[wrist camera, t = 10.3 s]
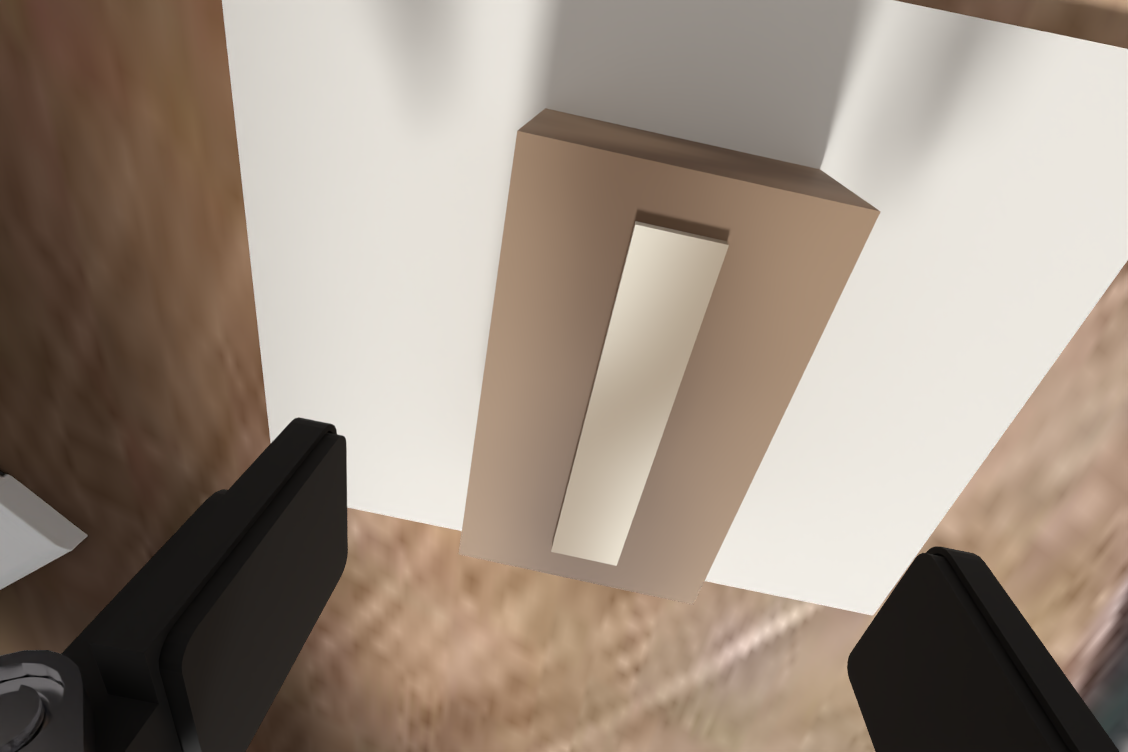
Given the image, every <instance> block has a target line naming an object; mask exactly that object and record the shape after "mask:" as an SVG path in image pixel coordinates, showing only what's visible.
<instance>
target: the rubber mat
mask: <svg viewBox="0 0 1128 752" xmlns="http://www.w3.org/2000/svg"><path fill="white" fill-rule="evenodd" d="M222 6H223V15H224V24H225V33H226V42H227V51H228V61H229V70H230V79H231V88H232V97H233V106H234V115H235V124H236V133H237V142H238V151H239V160H240V169H241V178H242V187H243V197H244V206H245V215H246V224H247V233H248V242H249V251H250V260H251V269H252V278H253V287H254V296H255V305H256V314H257V323H258V332H259V342H260V351H261V360H262V369H263V378H264V387H265V396H266V405H267V414H268V423H269V432H270V441H271V443H272V442H273V441H274V440H275V438H276V437H277V436H278V435H279V434H280V433H281V432H282V431H283V430H284V429H285V427H286V426H287V425H288V424H289V423H290V422H291V421H292V420H293V419H295V418H298V417H300V418H305V419H310V420H315V421H320V422H325V423H330V424H333V425H335V427H336V430H337V434H338V435H342V436H345V438H346V448H347V507H348V508H353V509H358V510H362V511H367V512H372V513H377V514H382V515H387V516H392V517H396V518H401V519H406V520H411V521H416V522H421V523H426V524H431V525H435V526H440V527H445V528H450V529H455V530H460V531H462V526H463V519H464V512H465V504H466V497H467V490H468V483H469V476H470V468H471V461H472V454H473V447H474V439H475V432H476V425H477V418H478V410H479V403H480V396H481V389H482V382H483V374H484V367H485V360H486V353H487V345H488V338H489V331H490V324H491V316H492V309H493V302H494V295H495V288H496V280H497V273H498V266H499V259H500V251H501V244H502V237H503V230H504V223H505V215H506V208H507V201H508V194H509V186H510V179H511V172H512V165H513V157H514V150H515V143H516V136H517V131H518V130H519V129H520V128H521V127H523V126H524V125H525V124H526V123H528V122H529V121H530V120H531V119H533V118H534V117H535V116H536V115H538V114H539V113H540V112H541V111H543V110H544V109H545V108H547V109H551V110H556V111H560V112H565V113H569V114H574V115H578V116H583V117H587V118H592V119H596V120H601V121H605V122H610V123H614V124H619V125H623V126H628V127H632V128H637V129H641V130H646V131H650V132H654V133H659V134H663V135H668V136H672V137H677V138H681V139H686V140H690V141H695V142H699V143H704V144H708V145H713V146H717V147H722V148H726V149H731V150H735V151H740V152H744V153H749V154H753V155H758V156H762V157H767V158H771V159H776V160H780V161H785V162H789V163H794V164H798V165H803V166H807V167H812V168H816V169H820V170H822V171H823V172H825V173H826V174H827V175H829V176H830V177H832V178H833V179H835V180H836V181H838V182H839V183H840V184H842V185H843V186H845V187H846V188H848V189H849V190H850V191H852V192H853V193H855V194H856V195H858V196H859V197H861V198H862V199H863V200H865V201H866V202H868V203H869V204H871V205H872V206H873V207H875V208H876V209H878V210H879V211H881V212H880V214H879V216H878V218H877V220H876V222H875V225H874V227H873V229H872V231H871V233H870V235H869V237H868V239H867V241H866V243H865V246H864V248H863V250H862V252H861V254H860V256H859V258H858V260H857V262H856V264H855V267H854V269H853V271H852V273H851V275H850V277H849V279H848V281H847V283H846V285H845V288H844V290H843V292H842V294H841V296H840V298H839V300H838V302H837V304H836V306H835V308H834V311H833V313H832V315H831V317H830V319H829V321H828V323H827V325H826V327H825V329H824V332H823V334H822V336H821V338H820V340H819V342H818V344H817V346H816V348H815V350H814V353H813V355H812V357H811V359H810V361H809V363H808V365H807V367H806V369H805V371H804V373H803V376H802V378H801V380H800V382H799V384H798V386H797V388H796V390H795V392H794V394H793V397H792V399H791V401H790V403H789V405H788V407H787V409H786V411H785V413H784V415H783V418H782V420H781V422H780V424H779V426H778V428H777V430H776V432H775V434H774V436H773V438H772V441H771V443H770V445H769V447H768V449H767V451H766V453H765V455H764V457H763V459H762V462H761V464H760V466H759V468H758V470H757V472H756V474H755V476H754V478H753V480H752V483H751V485H750V487H749V489H748V491H747V493H746V495H745V497H744V499H743V501H742V503H741V506H740V508H739V510H738V512H737V514H736V516H735V518H734V520H733V522H732V524H731V527H730V529H729V531H728V533H727V535H726V537H725V539H724V541H723V543H722V545H721V548H720V550H719V552H718V554H717V556H716V558H715V560H714V562H713V564H712V566H711V568H710V571H709V573H708V575H707V577H706V579H705V581H708V582H713V583H717V584H722V585H727V586H732V587H737V588H742V589H747V590H751V591H756V592H761V593H766V594H771V595H776V596H781V597H785V598H790V599H795V600H800V601H805V602H810V603H815V604H819V605H824V606H829V607H834V608H839V609H844V610H849V611H854V612H858V613H863V614H868V615H874V613H875V612H876V611H877V609H878V608H879V607H880V605H881V604H882V602H883V601H884V600H885V598H886V597H887V595H888V594H889V593H890V591H891V590H892V588H893V587H894V586H895V584H896V583H897V581H898V580H899V579H900V577H901V576H902V574H903V573H904V572H905V570H906V569H907V567H908V566H909V565H910V563H911V562H912V560H913V559H914V558H915V556H916V555H917V553H918V552H919V551H920V549H921V548H922V546H923V545H924V544H925V542H926V541H927V539H928V538H929V537H930V535H931V534H932V533H933V531H934V530H935V528H936V527H937V526H938V524H939V523H940V521H941V520H942V519H943V517H944V516H945V514H946V513H947V512H948V510H949V509H950V507H951V506H952V505H953V503H954V502H955V500H956V499H957V498H958V496H959V495H960V493H961V492H962V491H963V489H964V488H965V486H966V485H967V484H968V482H969V481H970V479H971V478H972V477H973V475H974V474H975V472H976V471H977V470H978V468H979V467H980V465H981V464H982V463H983V461H984V460H985V459H986V457H987V456H988V454H989V453H990V452H991V450H992V449H993V447H994V446H995V445H996V443H997V442H998V440H999V439H1000V438H1001V436H1002V435H1003V433H1004V432H1005V431H1006V429H1007V428H1008V426H1009V425H1010V424H1011V422H1012V421H1013V419H1014V418H1015V417H1016V415H1017V414H1018V412H1019V411H1020V410H1021V408H1022V407H1023V405H1024V404H1025V403H1026V401H1027V400H1028V398H1029V397H1030V396H1031V394H1032V393H1033V391H1034V390H1035V389H1036V387H1037V386H1038V384H1039V383H1040V382H1041V380H1042V379H1043V378H1044V376H1045V375H1046V373H1047V372H1048V371H1049V369H1050V368H1051V366H1052V365H1053V364H1054V362H1055V361H1056V359H1057V358H1058V357H1059V355H1060V354H1061V352H1062V351H1063V350H1064V348H1065V347H1066V345H1067V344H1068V343H1069V341H1070V340H1071V338H1072V337H1073V336H1074V334H1075V333H1076V331H1077V330H1078V329H1079V327H1080V326H1081V324H1082V323H1083V322H1084V320H1085V319H1086V317H1087V316H1088V315H1089V313H1090V312H1091V310H1092V309H1093V308H1094V306H1095V305H1096V304H1097V302H1098V301H1099V299H1100V298H1101V297H1102V295H1103V294H1104V292H1105V291H1106V290H1107V288H1108V287H1109V285H1110V284H1111V283H1112V281H1113V280H1114V278H1115V277H1116V276H1117V274H1118V273H1119V271H1120V270H1121V269H1122V267H1123V266H1124V264H1125V263H1126V262H1127V260H1128V49H1126V48H1121V47H1116V46H1111V45H1106V44H1102V43H1097V42H1092V41H1087V40H1082V39H1078V38H1073V37H1068V36H1063V35H1058V34H1054V33H1049V32H1044V31H1039V30H1034V29H1030V28H1025V27H1020V26H1015V25H1010V24H1006V23H1001V22H996V21H991V20H986V19H982V18H977V17H972V16H967V15H962V14H958V13H953V12H948V11H943V10H938V9H934V8H929V7H924V6H919V5H914V4H910V3H905V2H900V1H895V0H222Z"/></svg>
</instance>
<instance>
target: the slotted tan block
mask: <svg viewBox="0 0 1128 752" xmlns="http://www.w3.org/2000/svg"><path fill="white" fill-rule="evenodd" d="M880 212H881V211H879V210H878V209H876V208H875V207H873V206H872V205H871V204H869V203H868V202H866V201H865V200H863V199H862V198H861V197H859V196H858V195H856V194H855V193H853V192H852V191H850V190H849V189H848V188H846V187H845V186H843V185H842V184H840V183H839V182H838V181H836V180H835V179H833V178H832V177H830V176H829V175H827V174H826V173H825V172H823V171H822V170H820V169H816V168H812V167H807V166H803V165H798V164H794V163H789V162H785V161H780V160H776V159H771V158H767V157H762V156H758V155H753V154H749V153H744V152H740V151H735V150H731V149H726V148H722V147H717V146H713V145H708V144H704V143H699V142H695V141H690V140H686V139H681V138H677V137H672V136H668V135H663V134H659V133H654V132H650V131H646V130H641V129H637V128H632V127H628V126H623V125H619V124H614V123H610V122H605V121H601V120H596V119H592V118H587V117H583V116H578V115H574V114H569V113H565V112H560V111H556V110H551V109H547V108H545V109H544V110H543V111H541V112H540V113H539V114H538V115H536V116H535V117H534V118H533V119H531V120H530V121H529V122H528V123H526V124H525V125H524V126H523V127H521V128H520V129H519V130H518V131H517V136H516V143H515V150H514V157H513V165H512V172H511V179H510V186H509V194H508V201H507V208H506V215H505V223H504V230H503V237H502V244H501V251H500V259H499V266H498V273H497V280H496V288H495V295H494V302H493V309H492V316H491V324H490V331H489V338H488V345H487V353H486V360H485V367H484V374H483V382H482V389H481V396H480V403H479V410H478V418H477V425H476V432H475V439H474V447H473V454H472V461H471V468H470V476H469V483H468V490H467V497H466V504H465V512H464V519H463V526H462V533H461V541H460V548H459V554H460V555H464V556H469V557H473V558H478V559H483V560H487V561H492V562H497V563H501V564H506V565H511V566H515V567H520V568H525V569H529V570H534V571H539V572H543V573H548V574H552V575H557V576H562V577H566V578H571V579H576V580H580V581H585V582H590V583H594V584H599V585H604V586H608V587H613V588H618V589H622V590H627V591H632V592H636V593H641V594H645V595H650V596H655V597H659V598H664V599H669V600H673V601H678V602H683V603H687V604H692V605H693V604H694V602H695V600H696V598H697V596H698V594H699V592H700V589H701V587H702V585H703V583H704V581H705V579H706V577H707V575H708V573H709V571H710V568H711V566H712V564H713V562H714V560H715V558H716V556H717V554H718V552H719V550H720V548H721V545H722V543H723V541H724V539H725V537H726V535H727V533H728V531H729V529H730V527H731V524H732V522H733V520H734V518H735V516H736V514H737V512H738V510H739V508H740V506H741V503H742V501H743V499H744V497H745V495H746V493H747V491H748V489H749V487H750V485H751V483H752V480H753V478H754V476H755V474H756V472H757V470H758V468H759V466H760V464H761V462H762V459H763V457H764V455H765V453H766V451H767V449H768V447H769V445H770V443H771V441H772V438H773V436H774V434H775V432H776V430H777V428H778V426H779V424H780V422H781V420H782V418H783V415H784V413H785V411H786V409H787V407H788V405H789V403H790V401H791V399H792V397H793V394H794V392H795V390H796V388H797V386H798V384H799V382H800V380H801V378H802V376H803V373H804V371H805V369H806V367H807V365H808V363H809V361H810V359H811V357H812V355H813V353H814V350H815V348H816V346H817V344H818V342H819V340H820V338H821V336H822V334H823V332H824V329H825V327H826V325H827V323H828V321H829V319H830V317H831V315H832V313H833V311H834V308H835V306H836V304H837V302H838V300H839V298H840V296H841V294H842V292H843V290H844V288H845V285H846V283H847V281H848V279H849V277H850V275H851V273H852V271H853V269H854V267H855V264H856V262H857V260H858V258H859V256H860V254H861V252H862V250H863V248H864V246H865V243H866V241H867V239H868V237H869V235H870V233H871V231H872V229H873V227H874V225H875V222H876V220H877V218H878V216H879V214H880Z"/></svg>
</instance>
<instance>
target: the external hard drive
mask: <svg viewBox="0 0 1128 752" xmlns="http://www.w3.org/2000/svg"><path fill="white" fill-rule="evenodd" d="M87 536H88V535H87V534H85V533H84V532H83V531H82V530H80V529H79V528H78V527H76V526H75V525H74V524H73V523H71V522H70V521H69V520H67V519H66V518H65V517H64V516H62V515H61V514H60V513H58V512H57V511H56V510H55V509H53V508H52V507H51V506H50V505H48V504H47V503H46V502H44V501H43V500H42V499H41V498H39V497H38V496H37V495H35V494H34V493H33V492H32V491H30V490H29V489H28V488H26V487H25V486H24V485H23V484H21V483H20V482H19V481H17V480H16V479H15V478H14V477H12V476H11V475H8V474H4V473H2V472H1V471H0V590H1V589H3V588H4V587H6V586H8V585H10V584H12V583H14V582H15V581H17V580H19V579H21V578H23V577H24V576H26V575H28V574H30V573H32V572H34V571H35V570H37V569H39V568H41V567H43V566H44V565H46V564H48V563H50V562H52V561H53V560H55V559H57V558H59V557H61V556H63V555H64V554H66V553H68V552H70V551H72V550H73V549H74V548H75V547H76V546H77V545H78V544H79V543H80V542H82V541H83V540H84V539H85V538H86V537H87Z"/></svg>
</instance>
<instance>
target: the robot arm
mask: <svg viewBox="0 0 1128 752" xmlns="http://www.w3.org/2000/svg"><path fill="white" fill-rule="evenodd" d="M347 554H348V542H347V448H346V438H345V436H342V435H338V434H337V430H336V427H335V425H333V424H330V423H325V422H320V421H315V420H310V419H305V418H300V417H298V418H295V419H293V420H292V421H291V422H290V423H289V424H288V425H287V426H286V427H285V429H284V430H283V431H282V432H281V433H280V434H279V435H278V436H277V437H276V438H275V440H274V441H273V442H272V443H271V444H270V445H269V446H268V447H267V448H266V449H265V450H264V452H263V453H262V454H261V455H260V456H259V457H258V458H257V459H256V460H255V461H254V463H253V464H252V465H251V466H250V467H249V468H248V469H247V470H246V471H245V472H244V473H243V475H242V476H241V477H240V478H239V479H238V480H237V481H236V482H235V483H234V484H233V486H232V487H231V488H230V489H229V490H220V491H218V492H215V493H214V494H213V495H212V496H210V497H209V498H208V499H207V500H206V501H205V502H204V503H203V504H202V505H201V506H200V507H199V508H198V509H197V510H196V511H195V513H194V514H193V515H192V516H191V517H190V518H189V519H188V520H187V521H186V522H185V523H184V524H183V525H182V526H181V527H180V528H179V530H178V531H177V532H176V533H175V534H174V535H173V536H172V537H171V538H170V539H169V540H168V541H167V542H166V543H165V544H164V545H163V547H162V548H161V549H160V550H159V551H158V552H157V553H156V554H155V555H154V556H153V557H152V558H151V559H150V560H149V561H148V562H147V564H146V565H145V566H144V567H143V568H142V569H141V570H140V571H139V572H138V573H137V574H136V575H135V576H134V577H133V578H132V579H131V580H130V582H129V583H128V584H127V585H126V586H125V587H124V588H123V589H122V590H121V591H120V592H119V593H118V594H117V595H116V596H115V597H114V599H113V600H112V601H111V602H110V603H109V604H108V605H107V606H106V607H105V608H104V609H103V610H102V611H101V612H100V613H99V614H98V616H97V617H96V618H95V619H94V620H93V621H92V622H91V623H90V624H89V625H88V626H87V627H86V628H85V629H84V630H83V631H82V633H81V634H80V635H79V636H78V637H77V638H76V639H75V640H74V641H73V642H72V643H71V644H70V645H69V646H68V647H67V648H66V649H65V651H64V652H63V653H62V654H59V653H56V652H52V651H49V650H24V651H19V652H15V653H11V654H6V655H2V656H0V752H246V750H247V748H248V746H249V744H250V743H251V741H252V739H253V737H254V735H255V733H256V732H257V730H258V728H259V726H260V724H261V722H262V721H263V719H264V717H265V715H266V713H267V711H268V709H269V708H270V706H271V704H272V702H273V700H274V698H275V697H276V695H277V693H278V691H279V689H280V687H281V686H282V684H283V682H284V680H285V678H286V676H287V675H288V673H289V671H290V669H291V667H292V665H293V664H294V662H295V660H296V658H297V656H298V654H299V653H300V651H301V649H302V647H303V645H304V643H305V642H306V640H307V638H308V636H309V634H310V632H311V631H312V629H313V627H314V625H315V623H316V621H317V620H318V618H319V616H320V614H321V612H322V610H323V609H324V607H325V605H326V603H327V601H328V599H329V598H330V596H331V594H332V592H333V590H334V588H335V587H336V585H337V583H338V581H339V579H340V577H341V575H342V573H343V571H344V568H345V564H346V561H347ZM847 669H848V676H849V679H850V682H851V685H852V688H853V690H854V693H855V696H856V699H857V701H858V704H859V707H860V710H861V712H862V715H863V718H864V721H865V724H866V726H867V729H868V732H869V735H870V737H871V740H872V743H873V746H874V748H875V751H876V752H1119V750H1118V749H1117V747H1116V746H1115V745H1114V743H1113V742H1112V740H1111V739H1110V738H1109V736H1108V735H1107V733H1106V732H1105V731H1104V729H1103V728H1102V726H1101V725H1100V724H1099V722H1098V721H1097V719H1096V718H1095V716H1094V715H1093V714H1092V712H1091V711H1090V709H1089V708H1088V707H1087V705H1086V704H1085V702H1084V701H1083V700H1082V698H1081V697H1080V695H1079V694H1078V693H1077V691H1076V690H1075V688H1074V687H1073V686H1072V684H1071V683H1070V681H1069V680H1068V679H1067V677H1066V676H1065V674H1064V673H1063V672H1062V670H1061V669H1060V667H1059V666H1058V665H1057V663H1056V662H1055V660H1054V659H1053V658H1052V656H1051V655H1050V653H1049V652H1048V650H1047V649H1046V648H1045V646H1044V645H1043V643H1042V642H1041V641H1040V639H1039V638H1038V636H1037V635H1036V634H1035V632H1034V631H1033V629H1032V628H1031V627H1030V625H1029V624H1028V622H1027V621H1026V620H1025V618H1024V617H1023V615H1022V614H1021V613H1020V611H1019V610H1018V608H1017V607H1016V606H1015V604H1014V603H1013V601H1012V600H1011V599H1010V597H1009V596H1008V594H1007V593H1006V592H1005V590H1004V589H1003V587H1002V586H1001V584H1000V583H999V582H998V580H997V579H996V577H995V576H994V575H993V573H992V572H991V570H990V569H989V568H988V566H987V565H986V563H985V562H984V561H983V560H982V559H981V558H980V557H979V556H977V555H975V554H973V553H969V552H964V551H959V550H954V549H949V548H944V547H933V548H931V549H929V550H928V551H927V552H926V553H922V554H919V555H918V556H917V557H916V558H915V560H914V561H913V563H912V564H911V565H910V567H909V568H908V570H907V571H906V573H905V574H904V576H903V577H902V579H901V580H900V582H899V583H898V584H897V586H896V587H895V589H894V590H893V592H892V593H891V595H890V596H889V598H888V599H887V601H886V602H885V603H884V605H883V606H882V608H881V609H880V611H879V612H878V614H877V615H876V617H875V618H874V620H873V621H872V623H871V624H870V625H869V627H868V628H867V630H866V631H865V633H864V634H863V636H862V637H861V639H860V640H859V642H858V643H857V644H856V646H855V647H854V649H853V650H852V652H851V653H850V655H849V658H848V666H847Z"/></svg>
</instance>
